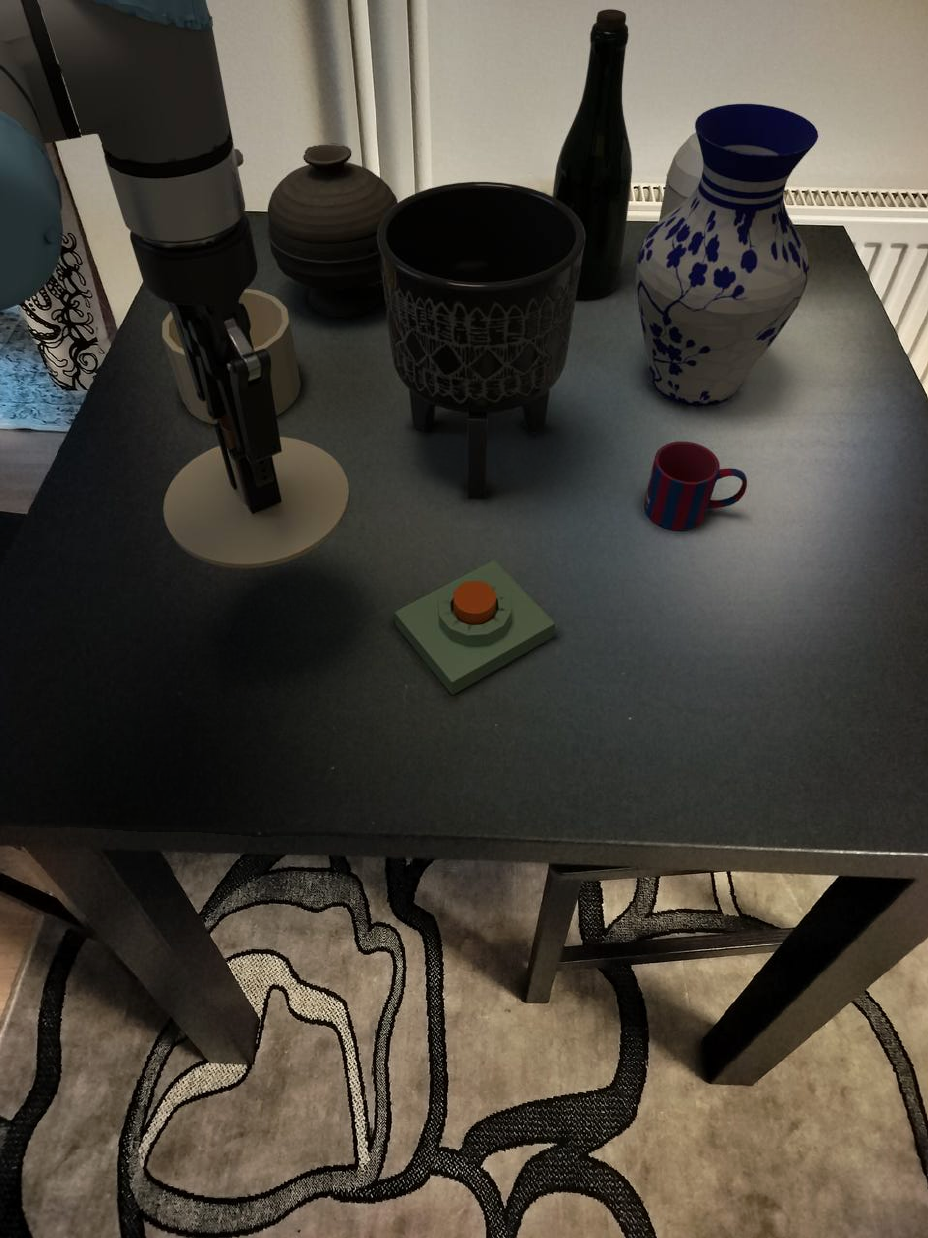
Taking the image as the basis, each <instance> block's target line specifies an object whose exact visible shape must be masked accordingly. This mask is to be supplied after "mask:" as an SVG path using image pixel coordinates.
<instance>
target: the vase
mask: <svg viewBox="0 0 928 1238" xmlns="http://www.w3.org/2000/svg"><path fill="white" fill-rule="evenodd" d="M694 130H695V133H696V134H697V137H698V141H699V144H700V149H701V153H702V157H703V172H702V176H701V180H700V183H699V185H698V187H697V188H696V189H695V191H694V192H693V193H692V195H691V196H690V197H689V198H688V199H687V200H686V201H684V202H683V203H682V204H680V205H679V206H678V207H676V208H675V209H674V210H672V211H671V212H670V213H668V214H667V215H666V216H664V217H663V218H662V219H661V220H660V221H659V220H658V222H657V223H655V225H654V226H652V228H651V229H650V230H649V232H647V234H646V236H645V238H644V240H643V241H642V244H641V247H640V249H639V251H638V254H637V261H636V272H635V286H636V293H637V294H636V295H637V303H638V312H639V316H640V317H639V318H640V324H641V331H642V336H643V341H644V346H645V347H644V348H645V353H646V359H647V363H648V369H649V378H650V383H651V384H652V386H653V388H654V389H655V390H656V391H657V393H659V394H660V395H661V396H663V398H666V399H668V400H669V401H672V402H674V403H677V404H679V405H684V406H688V407H697V408H698V407H699V408H704V407H713V406H717V405H720V404H723V403H725V402H726V401H728V400H729V399H731V398H732V397H733V396H734V394H735V393H736V392H737V390H738V389H739V387H740V386H741V384H742V383H743V382H744V380H745V379H746V378H747V377H748V375H749V374H750V373H751V371H752V370H753V369H754V367H755V366H756V365H757V363H758V362H759V361H760V360H761V358H762V357H763V356H764V355H765V353H766V352H767V350H768V349H769V347H770V346H772V344H773V342H774V341H775V340H776V339H777V337H778V335H779V334H780V333H781V332H782V330H783V329H784V327H785V326H786V324H787V323H788V322H789V320H790V318H791V317H792V315H793V314H794V312H795V311H796V309H797V308H798V306H799V304H800V302H801V300H802V297H803V295H804V293H805V290H806V287H807V285H808V281H809V275H810V261H809V255H808V249H807V247H806V244H805V243H804V241H803V239H802V237H801V234H800V232H799V231H798V229H797V227H796V226H795V224H794V223H793V221H792V220H791V217H790V216H789V213H788V211H787V208H786V204H785V189H786V186H787V182H788V179H789V177H790V176H791V174H792V172H793V171H794V169H796V167H797V166H798V164H799V163H800V162H801V161H802V160H803V158H804V157H805V156H806V155H807V154H808V152H810V151H811V149H812V148H813V147H814V146H815V145H816V144H817V142H818V139H819V132H818V130H817V128H816V126H815V125H814V124H813V123H812V122H811V121H810V120H808V119H807V118H806V117H804V116H802V115H800V114H798V113H796V112H793V111H790V110H788V109H784V108H781V107H777V106H772V105H766V104H765V105H764V104H760V103H759V104H757V103H730V104H724V105H719V106H715V107H712V108H709V109H707V110H705V111H704V112H702V113H701V114H699V115H698V116H697V118H696V119H695V122H694Z"/></svg>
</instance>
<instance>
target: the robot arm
mask: <svg viewBox="0 0 928 1238" xmlns="http://www.w3.org/2000/svg"><path fill="white" fill-rule="evenodd" d="M213 27H214V21H213V16H211V13H210V10H209V8H208V3H207V0H0V312H2V311H5V310H9V309H11V308H14V307H17V306H19V305H21V304H22V303H25V302H26V301H28V300H30V299H31V298H32V297H34V296H35V295H37V294H38V293H39V292H40V291H41V290H42V289H43V288H44V287H45V285H47V284H48V282H49V280H50V279H51V278H52V276H53V274H54V272H55V271H56V268H57V266H58V264H59V260H60V257H61V255H62V254H61V252H62V245H63V234H64V226H63V220H62V213H61V212H62V210H63V197H62V190H61V182H60V180H59V179H58V176H57V174H56V172H55V170H54V169H55V168H54V166H53V163H52V159H51V156H50V155H49V152H48V149H47V145H46V144H50V143H54V142H55V143H56V142H62V141H68V140H75V139H81V138H82V137H85V136H91V135H97V136H98V138H99V140H100V143H101V148H102V151H103V158H104V161H105V165H106V169H107V171H108V175H109V177H110V178H109V179H110V182H111V184H112V188H113V191H114V194H115V197H116V201H117V204H118V207H119V210H120V213H121V217H122V220H123V222H124V224H125V227H126V228H127V229H128V230H129V231H130V232H129V239H130V244H131V246H132V249H133V253H134V256H135V259H136V262H137V266H138V270H139V272H140V276H141V279H142V282H143V284H144V286H145V288H146V289H147V290H148V291H149V292H150V293H151V294H152V295H153V296H155V297H156V298H157V299H160V300H161V301H164V302H167V305H168V306H169V310H170V311H171V312H172V315H173V318H174V322H175V325H176V328H177V331H178V334H179V337H180V341H181V344H182V347H183V350H184V353H185V356H186V360H187V363H188V366H189V369H190V372H191V375H192V378H193V382H194V385H195V388H196V391H197V392H196V394H197V396H198V398H199V399H200V400H201V401H202V402H204V401H206V404H207V408H208V409H207V410H208V414H209V416H210V417H211V418H212V419H213V420H216V419H217V422H218V423H216V424H214V426H213V427H214V429H215V434H216V437H217V440H218V445H219V446H220V448H221V452H222V455H223V459H224V462H225V466H226V470H227V473H228V477H229V480H230V484H231V486H232V487H233V489H234V490H235V489H238V488H237V484H236V481H235V477H234V473H233V470H232V466H231V462H230V459H229V455H228V452H229V454H230V456H231V458H232V460H233V461H236V463H237V466H238V470H239V474H240V478H241V481H242V485H243V489H244V493H245V497H246V500H247V504H248V508H249V510H250V511H251V513H252V514H254V513H256V512H259V511H261V510H263V509H266V508H268V507H270V506H272V505H275V504H277V503H279V502H282V499H281V495H280V490H279V486H278V481H277V477H276V472H275V468H274V463H273V458H272V456H273V455H276V454H278V453H281V452H282V448H281V442H280V437H281V436H280V430H279V423H278V417H277V416H276V410H275V404H274V398H273V391H272V385H271V379H270V376H271V357H270V355H269V353H268V352H267V350H266V349H264V348H263V349H260V350H258V351H255V352H254V348H253V344H252V340H251V337H250V329H251V323H250V319H249V315H248V312H247V310H246V307H245V306H244V304H243V303H239V299H240V297H241V295H242V293H243V292H244V291H245V289H248V287H250V285H251V284H252V283H253V282H254V280H255V279H256V276H257V274H258V267H259V266H258V265H259V264H258V260H257V255H256V249H255V244H254V238H253V233H252V228H251V223H250V220H249V218H248V216H247V215H246V214H245V211H246V201H245V196H244V192H243V191H244V190H243V186H242V181H241V177H240V172H239V167H240V166H242V165H243V164H244V155H243V154H242V152H241V151H240V149H238V148H235V143H234V138H233V133H232V127H231V123H230V122H231V121H230V117H229V111H228V105H227V100H226V95H225V89H224V85H223V79H222V73H221V68H220V62H219V61H220V60H219V56H218V51H217V45H216V40H215V34H214V29H213ZM226 413H227V416H228V419H229V422H230V425H231V429H232V432H233V435H234V438H235V442H236V445H237V447H235V448H233V449H230V450H228V451H227V448H226V444H225V440H224V437H223V433H222V429H221V425H220V420H221V418H222V417H223V416H224V415H225V414H226Z"/></svg>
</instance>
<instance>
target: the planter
mask: <svg viewBox="0 0 928 1238" xmlns="http://www.w3.org/2000/svg"><path fill="white" fill-rule="evenodd" d="M552 196H553V195H550V194H548V193H545V192H543V191H540V190H537V189H534V188H531V187H526V186H523V185H517V184H513V183H506V182H496V181H495V182H494V181H464V182H455V183H449V184H443V185H438V186H435V187H430V188H427V189H424V190H421V191H419V192H416V193H413V194H412V195H409V196H407V197H405V198H403V199H402V200H400V201H399V202H398V203H397V204H396V205H395V206H393V207H392V208H391V209H390V210H389V211H388V212H387V213H386V214H385V216H384V217H383V218H382V220H381V222H380V224H379V227H378V230H377V245H378V253H379V260H380V268H381V275H382V282H381V283H382V289H383V297H384V304H385V312H386V320H387V326H388V327H387V328H388V333H389V334H388V335H389V343H390V351H391V356H392V361H393V367H394V368H395V371H396V374H397V375H398V377H399V379H400V380H401V381H402V383H403V385H405V387H406V388H407V389H408V392H409V401H410V402H409V403H410V410H411V412H410V413H411V421H412V428H414V429H416V430H418V431H420V432H423V433H426V432H427V431H428V429H430V428H431V426H433V424H434V422H435V421H434V420H435V413H436V407H439V408H441V409H445V410H448V411H453V412H457V413H464V414H465V413H466V414H467V499H484V500H485V499H486V494H487V492H486V491H487V455H488V453H487V451H488V414H495V413H502V412H507V411H512V410H515V409H519V408H521V407H522V414H523V424H524V427H525V428H526V429H527V430H528V432H530V433H531V434H532V435H534V434H536V433H539V432H542V431H544V430H545V428H546V421H547V415H548V406H549V397H550V392H551V391H550V390H551V389H552V388H553V387H554V386H555V384H556V383H557V382H558V381H559V379H560V378H561V376H562V373H563V371H564V369H565V366H566V361H567V357H568V349H569V344H570V337H571V331H572V326H573V321H574V320H573V318H574V313H575V306H576V300H577V298H576V295H577V289H578V282H579V276H580V270H581V264H582V258H583V251H584V245H585V238H586V237H585V231H584V227H583V225H582V223H581V220H580V219H579V217H578V216H577V215H576V214H575V213H574V211H573V210H571V209H570V208H569V207H568V206H567V205H566V204H564V203H563V202H561V201H559V200H558V199H556V198H554V197H552Z"/></svg>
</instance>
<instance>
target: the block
mask: <svg viewBox="0 0 928 1238" xmlns="http://www.w3.org/2000/svg"><path fill="white" fill-rule="evenodd" d="M469 581H480V582H484V583H486V584H488V585H489V586H490V587H492V589H493V590H494V592H495V594H496V610H495V613H494V615H493V617H492V618H491V619H490V620H489V621H487V622H485V623H482V624H478V625H472V624H467V623H464V622H462V621H461V620H459V619H458V618H457V616H456V615H455V613H454V605H453V596H454V592H455V590H456V589H457V588H458V587H459V586H460V585H462V584H463V583H466V582H469ZM394 622H395V627H396V628H397V629H398V630H399V632H400V633H401V635H403V637H405V639H406V640H407V641H408V643H409V644H410V645H411V646H412V647H413V649H414V651H416V653H417V654H418V655H419V656H420V657H421V659H422V660H423V662H424V663H425V664H426V665H427V666H428V668H429V669H430V670H431V671H432V673H434V675H436V678H437V679H438V680H439V681H440V682H441V684H443V686H444V687H445V688H446V690H447V691H448V692H449V693H450V695H452V696H454V695H455V694H457V693H459V692H461V691H462V690H464V689H466V688H468V687H470V686H471V685H473V684H474V683H476V682H479V681H480V680H481V679H483V678H485V677H486V676H488V675H490V674H492V673H493V672H495V671H497V670H499V669H500V668H502V667H504V666H505V665H507V664H509V663H511V662H513V661H514V660H516V659H517V658H519V657H521V656H523V655H524V654H527V653H528V652H530V651H532V650H533V649H535V648H536V647H538V646H540V645H542V644H544V643H545V642H548V641H549V640H550V639H552V638H554V637H555V630H556V622H555V621H554V620H553V619H552V618H551V617H550V616H549V615H548V614H547V613H546V612H545V611H544V610H543V608H541V606H540V605H539V604H538V603H537V602H536V601H534V599H533V598H532V597H531V596H530V595H529V594H528V593H527V592H526V591H525V590H524V588H522V587H521V586H520V585H519V583H517V582H516V581H515V579H513V577H511V575H510V574H509V573H508V572H507V571H506V570H505V569H504V568H503V567H502V566H501V565H500V564H499V563H498V562H497V561H496V560H495V559H493V560H491V561H489V562H487V563H486V564H483V565H481V566H480V567H478V568H476V569H474V570H472V571H470V572H468V573H466V574H465V575H463V576H461V577H459V578H457V579H455V580H453V581H451V582H449V583H447V584H445V585H443V586H441V587H440V588H438V589H436V590H434V591H431V592H430V593H428V594H426V595H424V596H423V597H421V598H418V599H416V600H414V601H413V602H411V603H408V604H407V605H404V606H403V607H401V608H399V609H398V610H396V611H394Z"/></svg>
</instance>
